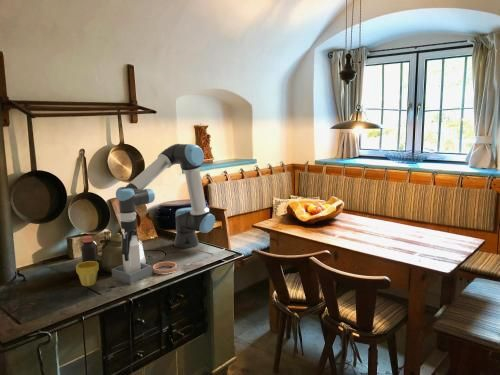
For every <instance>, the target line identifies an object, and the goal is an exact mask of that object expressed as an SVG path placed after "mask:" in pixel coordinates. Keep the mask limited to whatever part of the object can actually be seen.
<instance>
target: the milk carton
mask: <svg viewBox="0 0 500 375" xmlns="http://www.w3.org/2000/svg"><path fill="white" fill-rule="evenodd" d="M137 237H138V234H137V235H135V236H132V240H131V241H130V249H129V254H130V261H131V267H125V260H124V255H122V265H123V267H124V272H125V273H128V274H132V273H134V272H137V271H139V270H141V265H140V263H141V255H140V253H141V252H140V244H139V243H138V242H139V238H138V239H137Z"/></svg>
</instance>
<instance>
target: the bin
mask: <svg viewBox="0 0 500 375" xmlns="http://www.w3.org/2000/svg"><path fill="white" fill-rule="evenodd" d="M140 265H141V270H139V271H137V272H134V273H132V274H128V273H125V272H124V267H123V264H121V265H119V266H116V267H114V268H111V277H112V278H113V280H115V279H116V281H118V280H119V282H121V281H122V282H121V283H125V282H126V283H125V284H128V283H130V284H129V285H132V284H131V283H133V282H136V281H138V280H140V279H142V278H145V277H147V276H149V275H151V276H153V266H152V265H150V264H146V263H143V262H140ZM149 277H150V276H149ZM112 278H111V279H112ZM147 278H148V277H147ZM145 279H146V278H145ZM142 280H143V279H142ZM140 281H141V280H140ZM138 282H139V281H138ZM136 283H137V282H136ZM133 284H134V283H133Z"/></svg>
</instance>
